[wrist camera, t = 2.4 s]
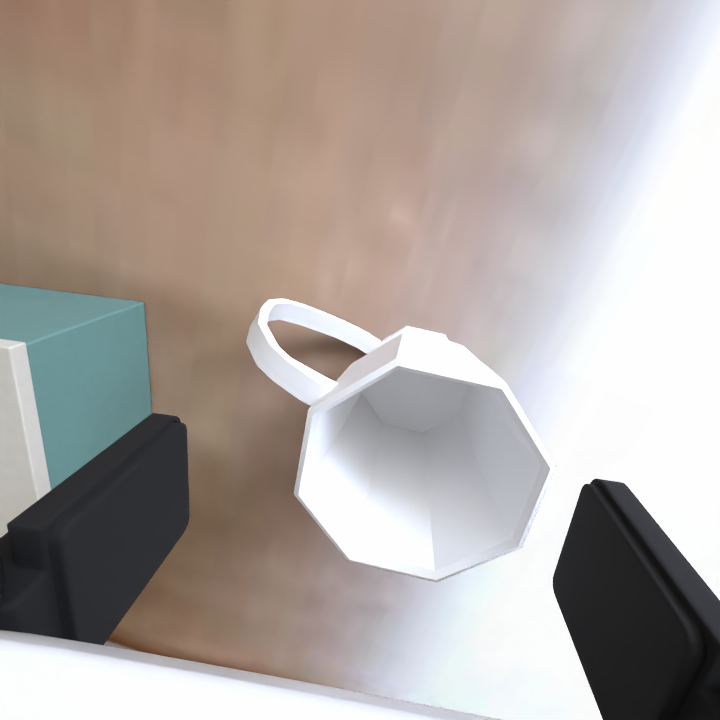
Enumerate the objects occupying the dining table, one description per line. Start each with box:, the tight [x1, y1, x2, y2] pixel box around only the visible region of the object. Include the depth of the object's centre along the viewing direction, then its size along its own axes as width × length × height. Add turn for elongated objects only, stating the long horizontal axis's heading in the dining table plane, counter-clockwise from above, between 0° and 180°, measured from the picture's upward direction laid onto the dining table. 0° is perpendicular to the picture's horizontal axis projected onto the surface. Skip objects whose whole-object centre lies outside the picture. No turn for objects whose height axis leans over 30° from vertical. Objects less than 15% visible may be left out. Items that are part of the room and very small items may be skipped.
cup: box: [246, 299, 556, 582], centre depth 15 cm, size 7×10×8 cm
